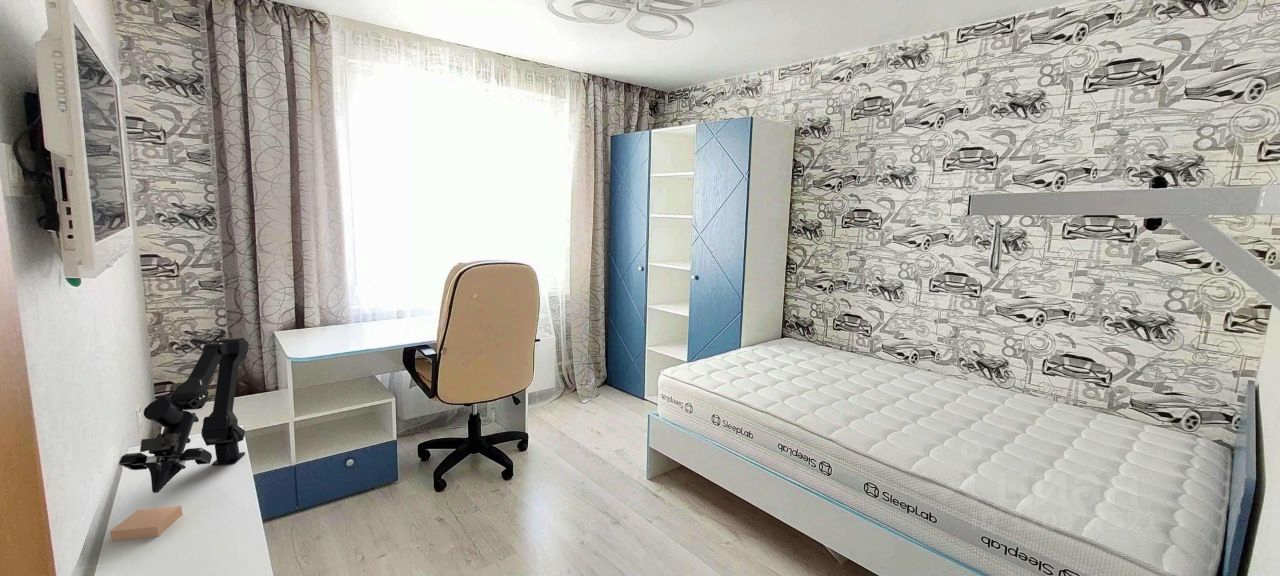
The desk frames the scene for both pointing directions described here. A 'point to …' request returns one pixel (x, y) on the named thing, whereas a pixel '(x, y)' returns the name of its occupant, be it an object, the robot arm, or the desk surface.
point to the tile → (146, 523)
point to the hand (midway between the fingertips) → (155, 492)
